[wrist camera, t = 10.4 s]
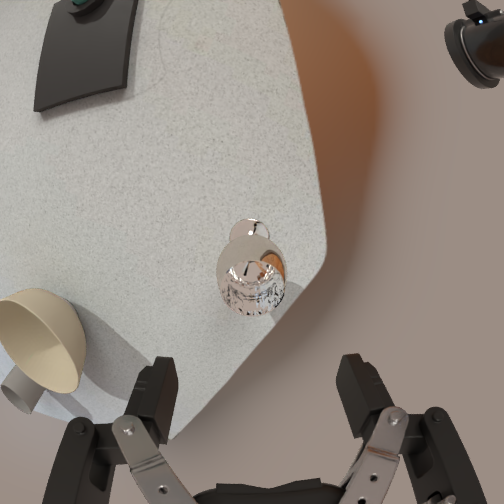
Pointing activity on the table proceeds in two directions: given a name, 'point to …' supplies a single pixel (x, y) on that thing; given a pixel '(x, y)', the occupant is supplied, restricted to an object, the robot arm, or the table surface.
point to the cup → (21, 390)
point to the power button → (79, 1)
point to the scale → (84, 51)
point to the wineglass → (251, 270)
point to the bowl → (44, 338)
